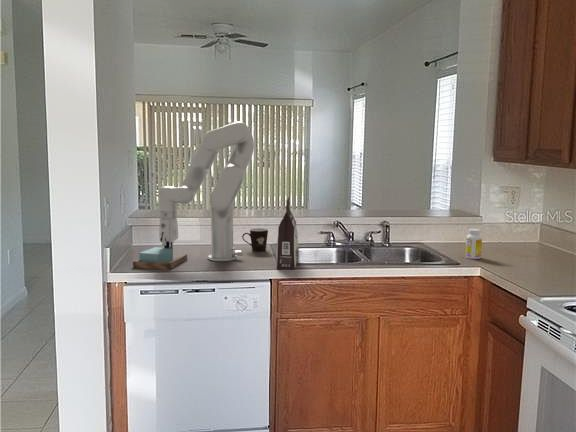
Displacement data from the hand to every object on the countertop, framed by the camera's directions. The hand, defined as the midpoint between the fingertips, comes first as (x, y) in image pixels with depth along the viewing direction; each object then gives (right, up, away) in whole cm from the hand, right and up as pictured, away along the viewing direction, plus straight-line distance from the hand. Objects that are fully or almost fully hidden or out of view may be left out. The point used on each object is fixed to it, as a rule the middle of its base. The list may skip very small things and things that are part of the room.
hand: (168, 256), depth 228 cm
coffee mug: (+37, +1, +20) cm, 42 cm away
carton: (-3, -3, -8) cm, 9 cm away
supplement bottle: (+135, -1, +8) cm, 135 cm away
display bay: (-1, -2, -7) cm, 8 cm away
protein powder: (+52, -3, -8) cm, 52 cm away
